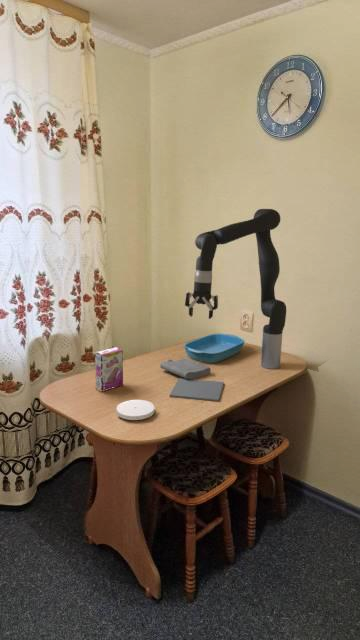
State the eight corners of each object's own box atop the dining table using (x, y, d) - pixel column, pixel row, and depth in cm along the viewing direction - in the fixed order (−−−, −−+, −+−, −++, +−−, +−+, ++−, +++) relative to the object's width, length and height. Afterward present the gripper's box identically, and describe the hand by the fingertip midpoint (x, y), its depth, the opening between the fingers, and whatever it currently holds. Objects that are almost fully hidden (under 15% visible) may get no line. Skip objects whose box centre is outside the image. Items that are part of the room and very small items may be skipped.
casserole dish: (210, 368, 209) (211, 354, 207) (175, 358, 223) (176, 345, 221) (251, 351, 236) (251, 338, 234) (217, 343, 250) (217, 331, 248)
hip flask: (186, 372, 190) (156, 361, 204) (185, 381, 191) (156, 369, 205) (210, 367, 201) (181, 356, 215) (210, 375, 201) (181, 364, 216)
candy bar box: (102, 392, 179) (101, 354, 175) (95, 389, 183) (94, 352, 179) (124, 385, 187) (123, 349, 183) (117, 382, 190) (116, 346, 186)
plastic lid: (154, 422, 155) (154, 415, 155) (115, 423, 154) (115, 416, 154) (154, 405, 169) (154, 399, 168) (117, 406, 168) (117, 400, 167)
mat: (179, 379, 194) (179, 378, 194) (223, 383, 190) (223, 382, 190) (169, 396, 176) (169, 395, 176) (218, 401, 172) (218, 399, 172)
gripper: (221, 281, 189) (218, 317, 192) (189, 278, 193) (187, 313, 196) (217, 283, 182) (214, 321, 185) (184, 280, 186) (182, 316, 189)
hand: (200, 317), depth 191 cm, fingers open, 8 cm apart
